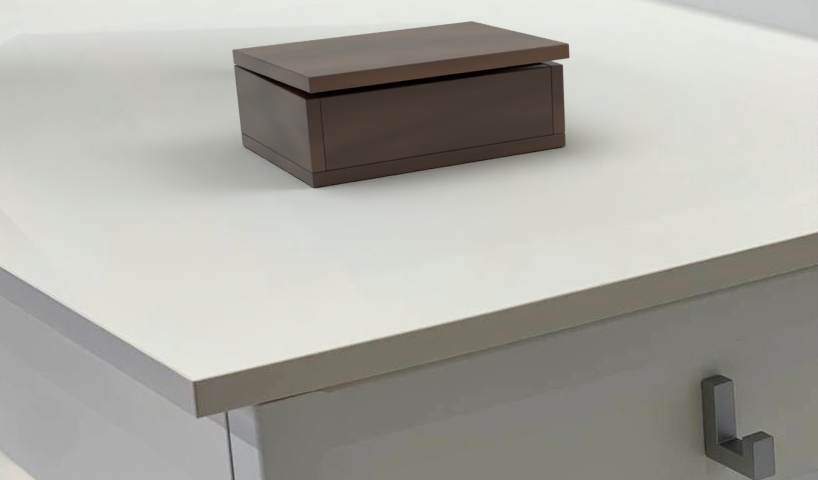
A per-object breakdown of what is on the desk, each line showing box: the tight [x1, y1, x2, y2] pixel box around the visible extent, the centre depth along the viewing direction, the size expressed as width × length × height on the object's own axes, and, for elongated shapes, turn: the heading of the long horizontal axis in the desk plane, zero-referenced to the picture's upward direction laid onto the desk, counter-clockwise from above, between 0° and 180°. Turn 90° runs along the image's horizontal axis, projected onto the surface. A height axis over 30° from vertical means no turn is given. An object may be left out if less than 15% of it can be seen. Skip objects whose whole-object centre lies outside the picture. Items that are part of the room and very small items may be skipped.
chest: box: [233, 60, 567, 188], centre depth 95 cm, size 12×16×5 cm
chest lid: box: [232, 20, 571, 93], centre depth 93 cm, size 12×16×1 cm
